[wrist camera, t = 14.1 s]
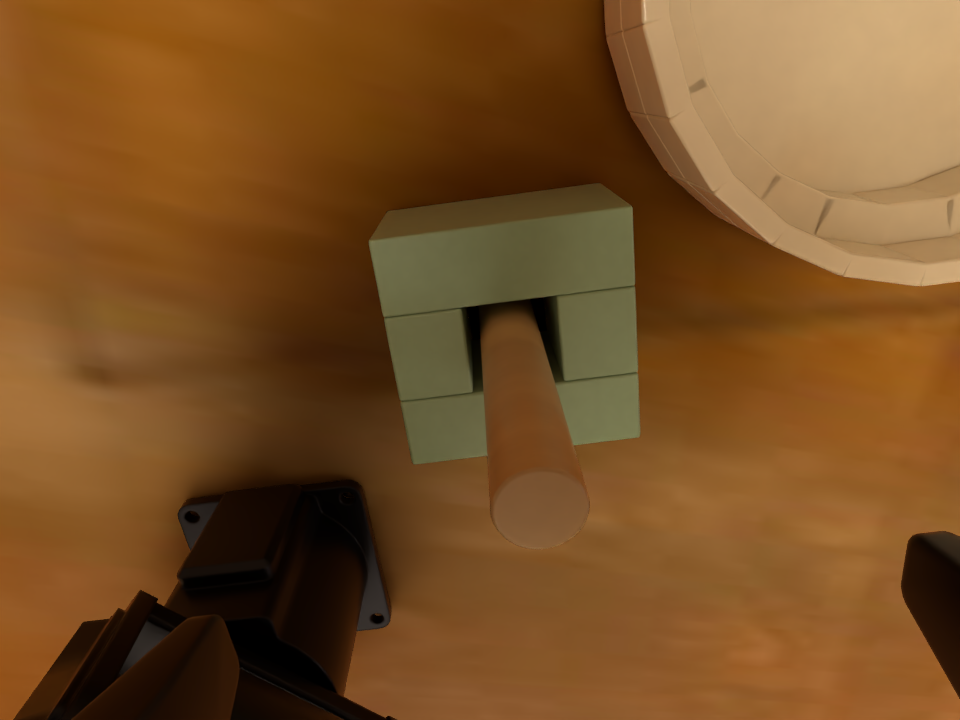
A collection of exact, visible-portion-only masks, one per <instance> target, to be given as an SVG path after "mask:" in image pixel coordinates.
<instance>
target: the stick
mask: <svg viewBox="0 0 960 720" xmlns="http://www.w3.org/2000/svg"><path fill="white" fill-rule="evenodd" d="M479 322H480V340H481V357H482V374H483V392H484V409H485V426H486V444H487V461H488V478H489V496H490V512H491V518H492V521H493V523H494V525H495V527H496V529H497V530H498V531H499V532H500V534H501V535H502V536H503V537H505V538H506V539H507V540H508V541H510V542H512V543H513V544H515V545H518V546H520V547H524V548H529V549H547V548H552V547H556V546H558V545H561V544H563V543H565V542H567V541H569V540H570V539H571V538H573V537H574V536H575V535H576V534H577V533H578V532H579V531H580V530H581V528H582V527H583V525H584V524H585V522H586V519H587V517H588V514H589V508H590V501H589V496H588V492H587V489H586V486H585V482H584V479H583V475H582V472H581V469H580V465H579V462H578V459H577V455H576V452H575V449H574V445H573V442H572V439H571V435H570V432H569V429H568V425H567V422H566V418H565V415H564V412H563V408H562V405H561V402H560V398H559V395H558V392H557V388H556V385H555V382H554V378H553V375H552V372H551V368H550V365H549V362H548V358H547V355H546V351H545V348H544V345H543V341H542V338H541V335H540V331H539V328H538V325H537V321H536V318H535V315H534V311H533V308H532V305H531V301H530V299H525V300H517V301H509V302H501V303H493V304H486V305H479Z"/></svg>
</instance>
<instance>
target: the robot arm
mask: <svg viewBox="0 0 960 720" xmlns="http://www.w3.org/2000/svg"><path fill="white" fill-rule="evenodd" d="M345 492H349V493H351V494H353V495H354V497H352V498H347V497H345V496H344V495H343V493H345ZM190 511H194V512H196V513H198V515H199V516H195V515H193V514H191V512H190ZM178 519H179V522H180V524H181V527H182V530H183V532H184V535H185V538H186V540H187V543H188V546H189V548H190V552H189V554H188V556H187V558H186V559H185V561H184V563H183V564H182V566H181V568H180V569H179V571H178V573H177V578H178V580H179V582H178V584H177V585H176V587H175V589H174V590H173V592H172V594H171V596H170V597H169V599H168V601H167V603H166V604H165V606H162V605H160V604H158V603H156V602H157V600H158V598H156V597H154V596H152V595H150V594H148V593H146V592H144V591H142V590H140V591H139V592H138V593H137V595H136V596H135V598H134V599H133V600H132V602H131V603H130V604H129V606H128V607H127V609H126V610H125V611H124V610H122V609H120V608H118V609H117V611H116V612H115V613H114V615H113V616H111V617H110V619H104V620H95V621H87V622H83V623H82V625H81V626H80V627H79V629H78V630H77V632H76V633H75V634H74V636H73V637H72V639H71V640H70V641H69V643H68V644H67V646H66V647H65V648H64V650H63V651H62V653H61V654H60V655H59V657H58V658H57V660H56V661H55V663H54V664H53V665H52V667H51V668H50V670H49V671H48V672H47V674H46V675H45V676H44V678H43V679H42V681H41V682H40V683H39V685H38V686H37V688H36V689H35V690H34V692H33V693H32V694H31V696H30V697H29V699H28V700H27V701H26V703H25V704H24V706H23V707H22V708H21V710H20V711H19V712H18V714H17V715H16V717H15V718H14V719H13V720H397V719H395V718H393V717H391V716H387V717H386V718H384V717H382V716H380V715H378V714H376V713H374V712H372V711H370V710H368V709H366V708H364V707H362V706H361V705H359V704H357V703H355V702H353V701H351V700H349V699H347V698H345V697H343V696H344V691H345V686H346V681H347V676H348V671H349V666H350V661H351V656H352V651H353V646H354V641H355V636H356V631H362V630H370V629H379V628H383V627H385V626H387V625H388V624H389V622H390V619H391V606H390V601H389V597H388V593H387V589H386V584H385V580H384V576H383V572H382V567H381V563H380V559H379V555H378V550H377V546H376V542H375V538H374V534H373V529H372V525H371V521H370V517H369V512H368V508H367V504H366V500H365V495H364V491H363V489H362V486H361V485H360V484H359V483H358V482H355V481H353V480H341V481H333V482H325V483H316V484H308V485H300V486H299V485H296V484H287V485H279V486H271V487H262V488H254V489H246V490H238V491H229V492H226V493H225V494H224V495H217V496H208V497H200V498H192V499H189V500H187V501H186V502H185V503H184V504H183V505H182V507H181V508H180V510H179V512H178ZM901 589H902V594H903V598H904V600H905V603H906V605H907V607H908V608H909V610H910V612H911V614H912V615H913V617H914V619H915V621H916V623H917V624H918V626H919V628H920V630H921V631H922V633H923V635H924V637H925V638H926V640H927V642H928V644H929V645H930V647H931V649H932V651H933V653H934V654H935V656H936V658H937V660H938V661H939V663H940V665H941V667H942V668H943V670H944V672H945V674H946V675H947V677H948V679H949V681H950V682H951V684H952V686H953V688H954V690H955V691H956V693H957V695H958V697H959V698H960V537H959V536H957V535H955V534H952V533H950V532H946V531H938V532H929V533H920V534H916V535H913V536H912V537H911V538H910V539H909V541H908V544H907V550H906V556H905V562H904V568H903V575H902V581H901ZM375 613H378V614H381V616H376V615H374V614H375Z"/></svg>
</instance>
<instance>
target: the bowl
mask: <svg viewBox="0 0 960 720" xmlns="http://www.w3.org/2000/svg"><path fill="white" fill-rule="evenodd" d="M604 12H605V34H606V36H607V37H606V40H607V43H608V47H609V50H610V53H611V57H612V60H613V64H614V67H615V70H616V74H617V77H618V80H619V84H620V87H621V90H622V94H623V97H624V100H625V104H626V107H627V110H628V111H629V112H630V116H631V117H632V119H633V121H634V122H635V124H636V125H637V127H638V129H639V130H640V132H641V133H642V135H643V137H644V138H645V140H646V141H647V143H648V145H649V146H650V148H651V149H652V151H653V153H654V154H655V156H656V157H657V159H658V161H659V162H660V164H661V165H662V167H663V169H664V170H665V171H667V173H668V175H669V176H670V177H672V178H673V179H674V180H675V181H676V182H677V183H678V184H679V185H681V186H682V187H683V188H684V189H685V190H686V191H687V192H689V193H690V194H691V195H692V196H693V197H694V198H695V199H697V200H698V201H699V202H700V203H701V204H702V205H703V206H705V207H706V208H707V209H708V210H709V211H710V212H711V213H713V214H714V215H716V216H717V217H719V218H721V219H722V220H724V221H726V222H728V223H730V224H732V225H734V226H736V227H738V228H739V229H741V230H744V231H745V232H747V233H749V234H751V235H753V236H755V237H756V238H758V239H760V240H762V241H764V242H766V243H768V244H770V245H772V246H774V247H776V248H778V249H780V250H782V251H785V252H787V253H789V254H791V255H794V256H796V257H798V258H800V259H803V260H805V261H807V262H809V263H812V264H814V265H816V266H818V267H821V268H823V269H825V270H827V271H830V272H832V273H834V274H836V275H841V276H843V277H848V278H856V279H864V280H871V281H879V282H887V283H894V284H902V285H909V286H928V285H936V284H944V283H951V282H959V281H960V0H604Z"/></svg>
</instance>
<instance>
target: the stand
mask: <svg viewBox="0 0 960 720" xmlns="http://www.w3.org/2000/svg"><path fill="white" fill-rule="evenodd" d="M369 248H370V253H371V258H372V263H373V268H374V273H375V278H376V283H377V288H378V294H379V299H380V304H381V309H382V314H383V316H384V317H385V318H384V323H385V328H386V333H387V338H388V344H389V349H390V354H391V359H392V364H393V369H394V374H395V379H396V384H397V389H398V394H399V399H400V400H401V409H402V414H403V419H404V424H405V429H406V435H407V440H408V445H409V450H410V455H411V460H412V463H413V464H423V463H432V462H440V461H448V460H456V459H465V458H473V457H481V456H487V444H486V426H485V409H484V392H483V374H482V357H481V340H480V339H479V340H472V334H471V327H470V320H469V313H468V307H470V306H478V305H486V304H493V303H501V302H509V301H517V300H525V299H532V298H540V297H544V307H545V318H546V328H547V331H543V332H540V335H541V338H542V341H543V345H544V348H545V351H546V355H547V358H548V362H549V365H550V368H551V372H552V375H553V378H554V382H555V385H556V388H557V392H558V395H559V398H560V402H561V405H562V408H563V412H564V415H565V418H566V422H567V425H568V429H569V432H570V435H571V439H572V442H573V445H580V444H589V443H597V442H605V441H614V440H622V439H630V438H638V437H640V409H639V381H638V373H637V371H638V349H637V321H636V292H635V287H634V285H635V261H634V232H633V208H632V206H631V205H630V204H628V203H627V202H626V201H624V200H623V199H621V198H620V197H619V196H617V195H616V194H615V193H613V192H612V191H611V190H609V189H608V188H607V187H605V186H604V185H602V184H601V183H594V184H587V185H579V186H572V187H564V188H557V189H549V190H542V191H534V192H527V193H519V194H512V195H504V196H497V197H489V198H482V199H474V200H467V201H459V202H452V203H444V204H437V205H429V206H422V207H414V208H407V209H399V210H392V211H387V212H386V214H385V216H384V217H383V219H382V220H381V222H380V224H379V225H378V227H377V229H376V230H375V232H374V233H373V235H372V237H371V238H370V240H369Z"/></svg>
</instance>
